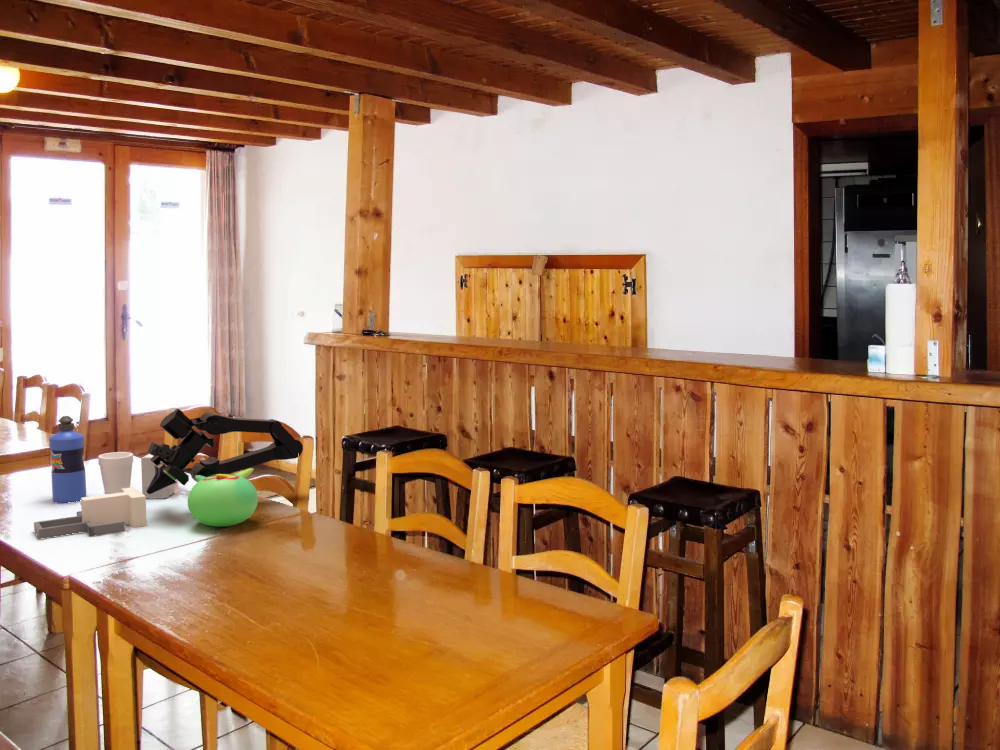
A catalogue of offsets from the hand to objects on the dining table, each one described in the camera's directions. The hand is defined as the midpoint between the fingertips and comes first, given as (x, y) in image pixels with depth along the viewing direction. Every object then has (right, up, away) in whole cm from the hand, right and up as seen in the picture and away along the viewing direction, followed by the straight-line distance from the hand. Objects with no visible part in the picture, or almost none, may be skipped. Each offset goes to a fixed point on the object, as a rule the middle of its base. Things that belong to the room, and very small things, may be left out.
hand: (147, 493), depth 241 cm
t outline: (-15, -8, -9) cm, 19 cm away
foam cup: (-18, -5, +22) cm, 29 cm away
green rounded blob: (+22, -8, -4) cm, 24 cm away
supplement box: (-7, -4, +25) cm, 27 cm away
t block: (-8, -8, -4) cm, 12 cm away
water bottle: (-31, -5, +20) cm, 37 cm away
